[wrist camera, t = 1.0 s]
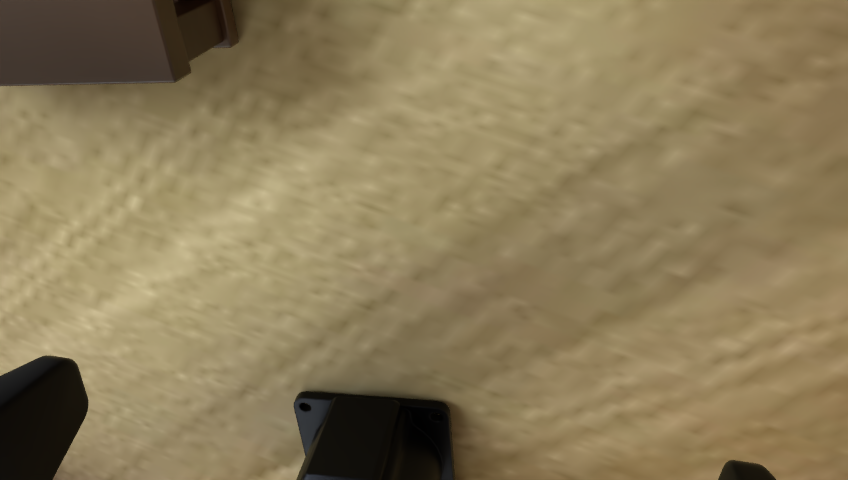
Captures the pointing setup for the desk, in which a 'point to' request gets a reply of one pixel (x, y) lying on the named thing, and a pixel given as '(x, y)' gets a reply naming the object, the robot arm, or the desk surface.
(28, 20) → the rack
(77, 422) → the robot arm
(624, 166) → the desk surface
